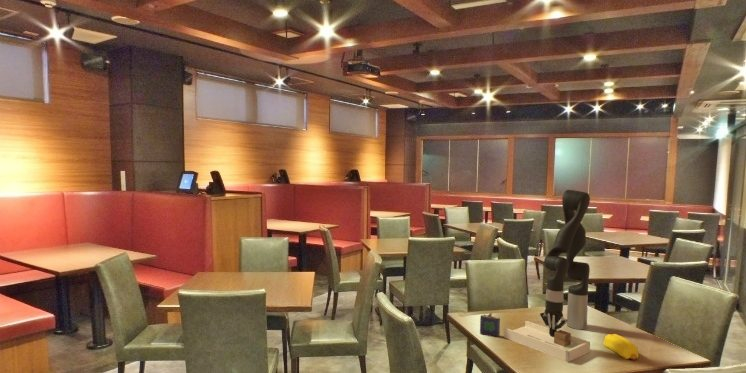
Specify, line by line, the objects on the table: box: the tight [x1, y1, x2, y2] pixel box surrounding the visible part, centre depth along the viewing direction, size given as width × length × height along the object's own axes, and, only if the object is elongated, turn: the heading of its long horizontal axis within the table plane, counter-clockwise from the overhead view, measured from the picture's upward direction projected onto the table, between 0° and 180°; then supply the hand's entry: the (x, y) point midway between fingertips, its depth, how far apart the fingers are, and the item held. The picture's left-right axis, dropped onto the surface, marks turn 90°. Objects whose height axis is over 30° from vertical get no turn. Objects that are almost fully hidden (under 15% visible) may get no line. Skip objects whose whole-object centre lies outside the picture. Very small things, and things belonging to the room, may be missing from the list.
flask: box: [479, 312, 501, 338], centre depth 213 cm, size 9×3×11 cm, turn 68°
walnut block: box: [554, 329, 572, 347], centre depth 199 cm, size 5×5×5 cm
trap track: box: [503, 320, 591, 363], centre depth 202 cm, size 18×32×4 cm, turn 37°
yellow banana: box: [603, 333, 639, 360], centre depth 195 cm, size 18×7×8 cm
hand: (552, 336), depth 203 cm, fingers closed
